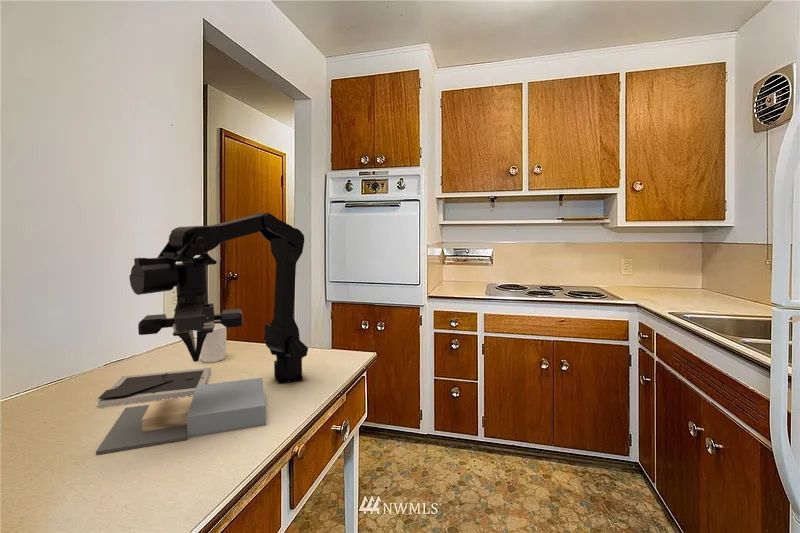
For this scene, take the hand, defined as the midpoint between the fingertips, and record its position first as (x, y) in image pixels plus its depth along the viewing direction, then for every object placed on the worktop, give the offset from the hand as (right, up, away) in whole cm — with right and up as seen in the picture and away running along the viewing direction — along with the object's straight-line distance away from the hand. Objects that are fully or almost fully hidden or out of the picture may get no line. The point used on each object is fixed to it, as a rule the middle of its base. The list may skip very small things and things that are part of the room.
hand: (196, 361), depth 82 cm
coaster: (-4, -11, -2) cm, 12 cm away
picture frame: (-16, -11, +15) cm, 25 cm away
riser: (+6, -12, +2) cm, 13 cm away
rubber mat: (-7, -12, -3) cm, 14 cm away
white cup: (-14, -8, +37) cm, 40 cm away
